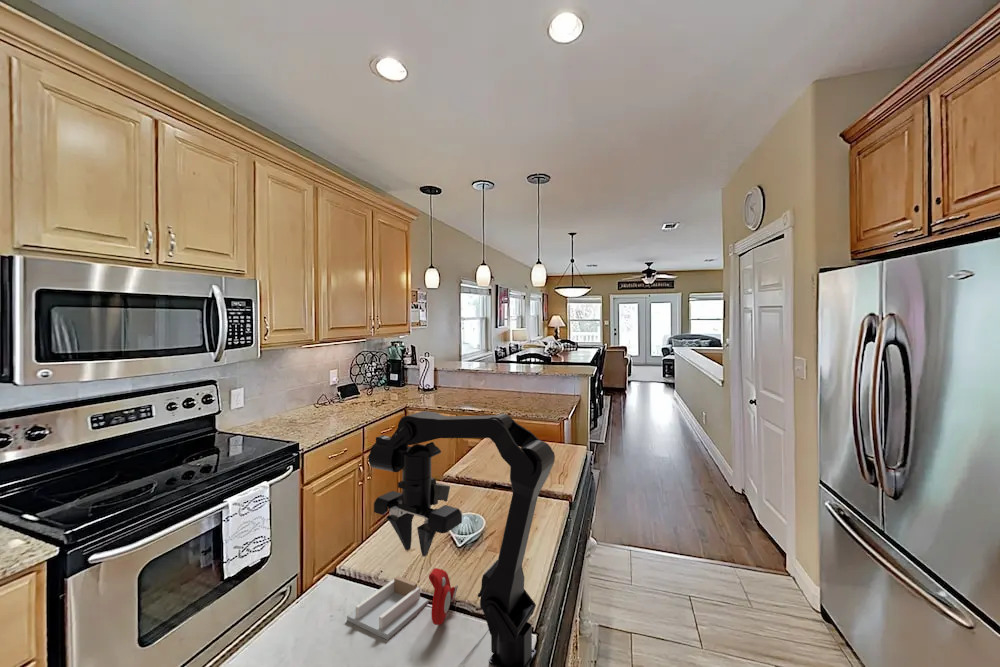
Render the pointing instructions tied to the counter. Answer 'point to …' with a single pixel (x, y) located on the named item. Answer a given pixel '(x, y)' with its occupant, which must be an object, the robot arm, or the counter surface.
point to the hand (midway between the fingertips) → (416, 552)
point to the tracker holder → (441, 595)
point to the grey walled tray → (389, 608)
